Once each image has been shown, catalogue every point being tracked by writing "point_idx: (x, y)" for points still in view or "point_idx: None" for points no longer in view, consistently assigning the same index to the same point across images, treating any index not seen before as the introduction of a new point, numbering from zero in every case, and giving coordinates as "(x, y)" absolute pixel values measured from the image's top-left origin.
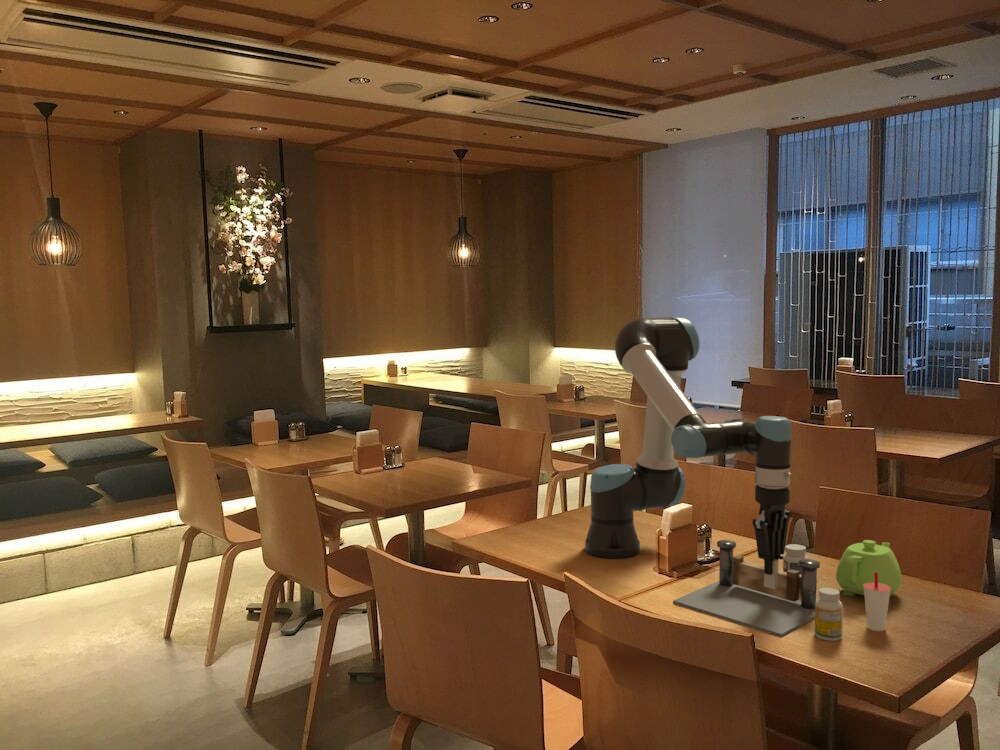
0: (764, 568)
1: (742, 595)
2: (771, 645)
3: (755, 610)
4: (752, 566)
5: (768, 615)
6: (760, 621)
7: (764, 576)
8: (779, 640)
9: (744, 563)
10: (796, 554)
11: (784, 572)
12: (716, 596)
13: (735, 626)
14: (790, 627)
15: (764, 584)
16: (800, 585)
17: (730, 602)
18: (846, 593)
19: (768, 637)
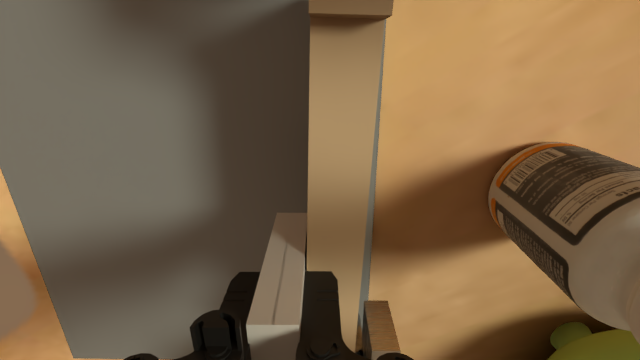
0: (224, 297)
1: (255, 96)
2: (11, 356)
3: (156, 223)
4: (311, 147)
5: (157, 274)
6: (91, 280)
7: (268, 243)
8: (56, 355)
9: (331, 63)
10: (632, 331)
11: (345, 329)
12: (141, 8)
13: (7, 231)
14: (135, 354)
15: (276, 220)
16: (364, 340)
17: (138, 107)
18: (556, 339)
19: (43, 330)
